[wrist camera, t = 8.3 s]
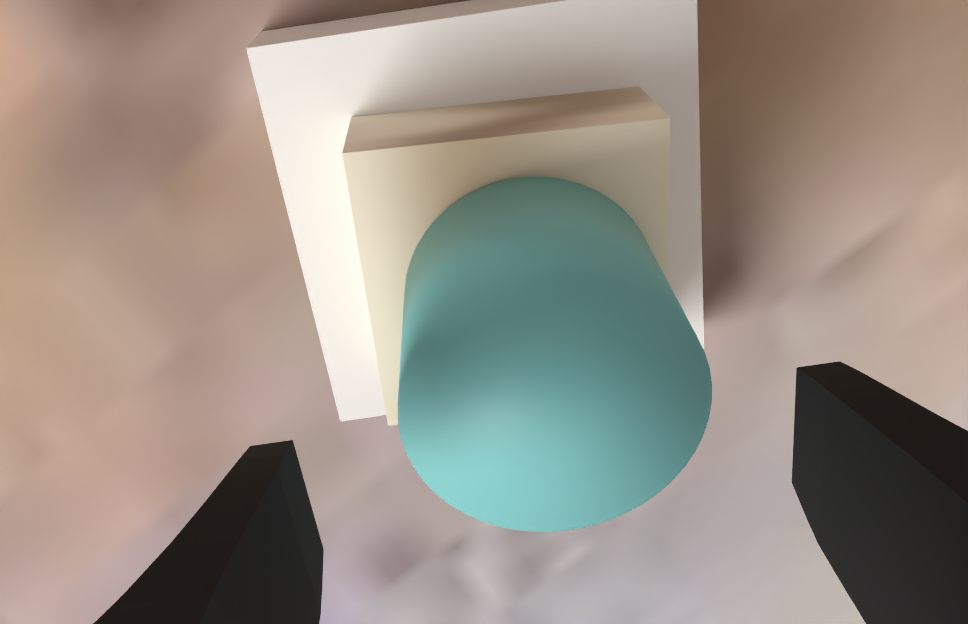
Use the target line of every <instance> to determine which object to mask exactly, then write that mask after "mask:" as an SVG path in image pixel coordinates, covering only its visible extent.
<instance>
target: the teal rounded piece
mask: <svg viewBox="0 0 968 624" xmlns="http://www.w3.org/2000/svg"><path fill="white" fill-rule="evenodd" d="M711 402H712V382H711V375H710V368H709V365H708V361H707V358H706V355H705V352H704V350H703V348H702V346H701V344H700V342H699V339H698V337H697V335H696V334H695V332H694V330H693V328H692V326H691V324H690V322H689V320H688V318H687V317H686V315H685V313H684V311H683V309H682V307H681V305H680V303H679V301H678V300H677V298H676V296H675V294H674V292H673V290H672V288H671V286H670V285H669V283H668V281H667V279H666V277H665V275H664V273H663V271H662V269H661V268H660V266H659V264H658V262H657V260H656V258H655V256H654V254H653V252H652V251H651V249H650V247H649V245H648V243H647V241H646V239H645V237H644V235H643V234H642V232H641V230H640V229H639V228H638V226H637V225H636V223H635V222H634V220H633V219H632V218H631V217H630V216H629V215H628V214H627V213H626V212H625V211H624V210H623V209H622V208H621V207H620V206H619V205H617V204H616V203H615V202H614V201H612V200H611V199H610V198H608V197H607V196H605V195H603V194H601V193H600V192H598V191H596V190H594V189H592V188H589V187H587V186H585V185H582V184H580V183H576V182H572V181H568V180H565V179H558V178H551V177H523V178H514V179H509V180H505V181H501V182H496V183H493V184H490V185H488V186H485V187H483V188H480V189H477V190H476V191H474V192H472V193H470V194H468V195H466V196H464V197H462V198H461V199H460V200H458V201H457V202H455V203H454V204H453V205H451V206H450V207H448V208H447V209H446V210H445V211H444V212H443V213H442V214H441V215H440V216H439V217H438V218H436V219H435V221H434V222H433V223H432V224H431V226H430V227H429V228H428V229H427V230H426V232H425V233H424V235H423V236H422V238H421V240H420V241H419V243H418V244H417V246H416V249H415V251H414V253H413V255H412V258H411V260H410V264H409V267H408V271H407V274H406V282H405V291H404V307H403V323H402V340H401V356H400V373H399V389H398V425H399V430H400V435H401V440H402V442H403V445H404V448H405V451H406V454H407V456H408V458H409V459H410V461H411V463H412V465H413V467H414V469H415V470H416V472H417V473H418V474H419V476H420V477H421V478H422V480H423V481H424V482H425V483H426V484H427V485H428V486H429V487H430V488H431V489H432V490H433V491H434V492H435V493H436V494H437V495H438V496H439V497H440V498H442V499H443V500H444V501H446V502H447V503H448V504H450V505H451V506H453V507H454V508H456V509H458V510H459V511H461V512H463V513H465V514H466V515H469V516H471V517H473V518H475V519H478V520H480V521H482V522H486V523H489V524H492V525H495V526H499V527H503V528H508V529H514V530H519V531H531V532H557V531H566V530H574V529H579V528H584V527H588V526H593V525H596V524H599V523H602V522H605V521H608V520H611V519H614V518H616V517H618V516H620V515H623V514H625V513H627V512H629V511H631V510H633V509H635V508H636V507H638V506H640V505H642V504H643V503H645V502H646V501H648V500H649V499H651V498H652V497H653V496H655V495H656V494H657V493H659V492H660V491H661V490H662V489H663V488H665V487H666V486H667V485H668V484H669V483H670V482H671V481H672V480H673V479H674V478H675V477H676V476H677V475H678V474H679V473H680V471H681V470H682V469H683V468H684V467H685V466H686V464H687V463H688V461H689V460H690V458H691V457H692V455H693V454H694V452H695V451H696V449H697V447H698V445H699V443H700V441H701V439H702V436H703V434H704V431H705V428H706V425H707V422H708V419H709V414H710V408H711Z"/></svg>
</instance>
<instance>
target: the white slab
mask: <svg viewBox="0 0 968 624" xmlns="http://www.w3.org/2000/svg"><path fill="white" fill-rule="evenodd" d="M246 49H247V53H248V57H249V61H250V65H251V69H252V73H253V77H254V81H255V85H256V89H257V93H258V96H259V100H260V104H261V108H262V112H263V116H264V120H265V124H266V128H267V132H268V136H269V140H270V144H271V148H272V152H273V156H274V160H275V164H276V168H277V172H278V176H279V180H280V184H281V188H282V192H283V196H284V200H285V203H286V207H287V211H288V215H289V219H290V223H291V227H292V231H293V235H294V239H295V243H296V247H297V251H298V255H299V259H300V263H301V267H302V271H303V275H304V279H305V283H306V287H307V291H308V295H309V299H310V303H311V306H312V310H313V314H314V318H315V322H316V326H317V330H318V334H319V338H320V342H321V346H322V350H323V354H324V358H325V362H326V366H327V370H328V374H329V378H330V382H331V386H332V390H333V394H334V398H335V402H336V406H337V410H338V413H339V417H340V421H347V420H354V419H361V418H368V417H374V416H381V415H386V410H385V404H384V398H383V393H382V387H381V381H380V375H379V369H378V363H377V357H376V351H375V345H374V339H373V333H372V327H371V321H370V316H369V310H368V304H367V298H366V292H365V286H364V280H363V274H362V268H361V262H360V256H359V250H358V244H357V239H356V233H355V227H354V221H353V215H352V209H351V203H350V197H349V191H348V185H347V179H346V173H345V167H344V162H343V156H342V152H343V148H344V144H345V140H346V136H347V131H348V127H349V123H350V119H351V117H356V116H365V115H375V114H384V113H393V112H403V111H412V110H422V109H431V108H441V107H450V106H459V105H469V104H478V103H488V102H497V101H507V100H516V99H525V98H535V97H544V96H554V95H563V94H573V93H582V92H591V91H601V90H610V89H620V88H629V87H638V86H639V87H640V88H641V89H642V90H643V91H644V92H645V93H646V94H647V95H648V96H649V97H650V98H651V99H652V100H653V101H654V102H655V103H656V104H657V105H658V106H659V107H660V108H661V109H662V111H663V112H664V113H665V114H666V115H667V116H668V117H669V118H670V173H669V281H668V283H669V285H670V286H671V288H672V290H673V292H674V294H675V296H676V298H677V300H678V301H679V303H680V305H681V307H682V309H683V311H684V313H685V315H686V317H687V318H688V320H689V322H690V324H691V326H692V328H693V330H694V332H695V334H696V335H697V337H698V339H699V342H700V344H701V346H702V348H703V350H704V322H703V271H702V221H701V171H700V120H699V70H698V20H697V0H469V1H462V2H455V3H449V4H442V5H435V6H429V7H422V8H415V9H409V10H402V11H395V12H389V13H382V14H375V15H369V16H362V17H355V18H348V19H342V20H335V21H328V22H322V23H315V24H308V25H302V26H295V27H288V28H282V29H275V30H268V31H262V32H261V33H260V34H259V35H258V36H257V37H256V38H255V39H254V40H253V41H252V43H251V44H250V45H249V46H248V47H247V48H246Z"/></svg>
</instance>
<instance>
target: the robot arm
mask: <svg viewBox="0 0 968 624" xmlns="http://www.w3.org/2000/svg"><path fill="white" fill-rule="evenodd" d="M792 484H793V486H794V489H795V491H796V493H797V496H798V498H799V501H800V503H801V506H802V508H803V510H804V513H805V515H806V517H807V520H808V522H809V524H810V526H811V529H812V531H813V533H814V535H815V538H816V540H817V542H818V544H819V546H820V547H821V549H822V551H823V553H824V554H825V556H826V558H827V559H828V561H829V563H830V564H831V566H832V568H833V570H834V571H835V573H836V575H837V576H838V578H839V580H840V581H841V583H842V585H843V586H844V588H845V590H846V591H847V593H848V595H849V596H850V598H851V599H852V601H853V603H854V604H855V606H856V608H857V609H858V611H859V613H860V614H861V616H862V618H863V619H864V621H865V622H866V624H968V431H967V430H965V429H963V428H961V427H959V426H957V425H955V424H953V423H952V422H950V421H948V420H946V419H944V418H942V417H941V416H939V415H937V414H935V413H933V412H931V411H930V410H928V409H926V408H924V407H922V406H921V405H919V404H917V403H915V402H913V401H912V400H910V399H908V398H906V397H905V396H903V395H901V394H899V393H897V392H896V391H894V390H892V389H890V388H889V387H887V386H885V385H883V384H881V383H880V382H878V381H876V380H874V379H872V378H871V377H869V376H867V375H865V374H863V373H861V372H860V371H858V370H856V369H854V368H852V367H850V366H848V365H846V364H844V363H842V362H833V363H826V364H819V365H812V366H805V367H798V368H797V373H796V397H795V421H794V445H793V468H792ZM322 575H323V546H322V543H321V539H320V536H319V532H318V529H317V525H316V521H315V518H314V514H313V511H312V507H311V504H310V500H309V497H308V493H307V490H306V486H305V483H304V479H303V475H302V472H301V468H300V465H299V461H298V458H297V454H296V451H295V447H294V444H293V440H290V441H283V442H276V443H269V444H262V445H255V446H250V447H249V448H248V449H247V451H246V452H245V453H244V454H243V455H242V457H241V458H240V459H239V460H238V462H237V463H236V464H235V465H234V467H233V468H232V469H231V470H230V471H229V473H228V474H227V475H226V476H225V478H224V479H223V480H222V481H221V483H220V484H219V485H218V486H217V488H216V489H215V490H214V491H213V493H212V494H211V495H210V496H209V498H208V499H207V500H206V501H205V503H204V504H203V505H202V506H201V508H200V509H199V510H198V511H197V512H196V514H195V515H194V516H193V517H192V518H191V520H190V521H189V522H188V523H187V524H186V526H185V527H184V528H183V529H182V530H181V532H180V533H179V534H178V535H177V536H176V538H175V539H174V540H173V541H172V542H171V543H170V545H169V546H168V547H167V548H166V549H165V550H164V551H163V552H162V553H161V554H160V555H159V556H158V558H157V559H156V560H155V561H154V562H153V563H152V564H151V565H150V566H149V567H148V568H147V570H146V571H145V572H144V573H143V574H142V575H141V576H140V577H139V578H138V579H137V580H136V581H135V583H134V584H133V585H132V586H131V587H130V588H129V589H128V590H127V591H126V592H125V593H124V594H123V595H122V596H121V597H120V598H119V599H118V600H117V601H116V602H115V603H114V604H113V605H112V606H111V607H110V608H109V609H108V610H107V611H106V612H105V613H104V614H103V615H102V616H101V617H100V618H99V619H98V620H97V621H96V622H95V623H94V624H319V620H320V614H321V596H322Z"/></svg>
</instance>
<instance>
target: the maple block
mask: <svg viewBox="0 0 968 624" xmlns="http://www.w3.org/2000/svg"><path fill="white" fill-rule="evenodd" d="M342 156H343V162H344V167H345V173H346V179H347V185H348V191H349V197H350V203H351V209H352V215H353V221H354V227H355V233H356V239H357V244H358V250H359V256H360V262H361V268H362V274H363V280H364V286H365V292H366V298H367V304H368V310H369V316H370V321H371V327H372V333H373V339H374V345H375V351H376V357H377V363H378V369H379V375H380V381H381V387H382V393H383V398H384V404H385V410H386V416H387V422H388V426H390V425H398V389H399V373H400V356H401V340H402V323H403V307H404V291H405V282H406V274H407V271H408V267H409V264H410V260H411V258H412V255H413V253H414V251H415V249H416V246H417V244H418V243H419V241H420V240H421V238H422V236H423V235H424V233H425V232H426V230H427V229H428V228H429V227H430V226H431V224H432V223H433V222H434V221H435V219H436V218H438V217H439V216H440V215H441V214H442V213H443V212H444V211H445V210H446V209H447V208H448V207H450V206H451V205H453V204H454V203H455V202H457V201H458V200H460V199H461V198H462V197H464V196H466V195H468V194H470V193H472V192H474V191H476V190H477V189H480V188H483V187H485V186H488V185H490V184H493V183H496V182H501V181H505V180H509V179H514V178H523V177H551V178H558V179H565V180H568V181H572V182H576V183H580V184H582V185H585V186H587V187H589V188H592V189H594V190H596V191H598V192H600V193H601V194H603V195H605V196H607V197H608V198H610V199H611V200H612V201H614V202H615V203H616V204H617V205H619V206H620V207H621V208H622V209H623V210H624V211H625V212H626V213H627V214H628V215H629V216H630V217H631V218H632V219H633V220H634V222H635V223H636V225H637V226H638V228H639V229H640V230H641V232H642V234H643V235H644V237H645V239H646V241H647V243H648V245H649V247H650V249H651V251H652V252H653V254H654V256H655V258H656V260H657V262H658V264H659V266H660V268H661V269H662V271H663V273H664V275H665V277H666V279H667V281H669V173H670V118H669V117H668V116H667V115H666V114H665V113H664V112H663V111H662V109H661V108H660V107H659V106H658V105H657V104H656V103H655V102H654V101H653V100H652V99H651V98H650V97H649V96H648V95H647V94H646V93H645V92H644V91H643V90H642V89H641V88H640V87H639V86H638V87H629V88H620V89H610V90H601V91H591V92H582V93H573V94H563V95H554V96H544V97H535V98H525V99H516V100H507V101H497V102H488V103H478V104H469V105H459V106H450V107H441V108H431V109H422V110H412V111H403V112H393V113H384V114H375V115H365V116H356V117H351V119H350V123H349V127H348V131H347V136H346V140H345V144H344V148H343V152H342Z"/></svg>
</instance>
